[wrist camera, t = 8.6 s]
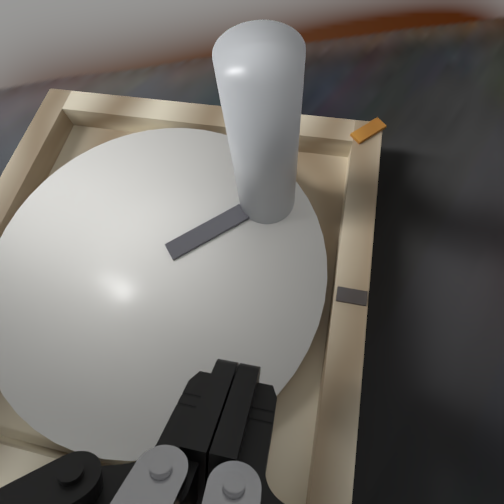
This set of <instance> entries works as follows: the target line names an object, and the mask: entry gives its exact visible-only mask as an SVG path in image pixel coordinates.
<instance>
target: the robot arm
mask: <svg viewBox="0 0 504 504" xmlns="http://www.w3.org/2000/svg"><path fill="white" fill-rule="evenodd" d="M260 370H261V367H259V366H254V365H249V364H244V363H240V364H239V363H238V362H233V361H228V360H222V359H217V361H216V363H215V365H214V368H213V370H212V372H211V373H207V372H202V371H199V372H198V373H197V374H196V375H194V376H193V377H192V378H191V379H190V380H189V381H188V383H187V385H186V387H185V389H184V391H183V393H182V395H181V397H180V399H179V401H178V403H177V405H176V406H175V408H174V410H173V412H172V414H171V416H170V418H169V420H168V422H167V424H166V426H165V428H164V430H163V432H162V434H161V436H160V438H159V440H158V442H157V444H156V445H155V447H152V448H150V449H149V450H147V451H146V452H144V453H143V454H142V455H141V456H140V457H139V459H138V460H137V461H134V462H131V463H126V464H117V465H106V466H101V462H100V460H99V458H98V457H97V456H96V455H95V454H93V453H91V452H88V451H75V452H71V453H68V454H66V455H64V456H61V457H60V458H58V459H56V460H54V461H52V462H50V463H48V464H46V465H44V466H42V467H40V468H38V469H36V470H34V471H32V472H30V473H28V474H26V475H24V476H22V477H20V478H18V479H16V480H14V481H13V482H11V483H9V484H7V485H5V486H3V487H1V488H0V504H284V503H283V502H282V501H280V500H279V499H278V498H277V497H276V496H275V495H274V494H273V492H272V491H271V489H270V488H269V486H268V483H267V480H266V469H267V463H268V456H269V450H270V444H271V438H272V432H273V425H274V417H275V410H276V403H277V396H276V393H275V390H274V387H273V385H268V384H263V383H259V379H260Z"/></svg>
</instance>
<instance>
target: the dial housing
mask: <svg viewBox="0 0 504 504" xmlns="http://www.w3.org/2000/svg"><path fill="white" fill-rule="evenodd" d="M164 128H191V129H200V130H207V131H212V132H216V133H221V134H224V135H227V133H226V127H225V122H224V117H223V112H222V107H221V106H214V105H204V104H194V103H185V102H175V101H165V100H156V99H146V98H136V97H127V96H117V95H107V94H97V93H88V92H78V91H68V90H59V89H50V90H49V92H48V93H47V95H46V97H45V99H44V100H43V102H42V104H41V106H40V108H39V109H38V111H37V113H36V115H35V116H34V118H33V120H32V122H31V124H30V125H29V127H28V129H27V131H26V132H25V134H24V136H23V138H22V140H21V141H20V143H19V145H18V147H17V148H16V150H15V152H14V154H13V155H12V157H11V159H10V161H9V163H8V164H7V166H6V168H5V170H4V171H3V173H2V175H1V177H0V238H1V236H2V234H3V232H4V230H5V228H6V227H7V225H8V224H9V222H10V221H11V219H12V218H13V216H14V215H15V213H16V212H17V210H18V209H19V208H20V207H21V205H22V204H23V203H24V202H25V200H26V199H27V198H28V197H29V196H30V195H31V194H32V193H33V192H34V191H35V190H36V189H37V188H38V187H39V186H40V185H41V184H42V183H43V182H44V181H45V180H46V179H47V178H48V177H49V176H51V175H52V174H53V173H54V172H56V171H57V170H58V169H59V168H61V167H62V166H63V165H65V164H66V163H68V162H69V161H71V160H72V159H74V158H75V157H77V156H79V155H81V154H83V153H84V152H86V151H88V150H90V149H92V148H94V147H96V146H98V145H101V144H103V143H105V142H108V141H110V140H113V139H116V138H119V137H122V136H125V135H129V134H133V133H137V132H142V131H147V130H154V129H164ZM385 128H386V125H385V124H384V123H383V122H382V121H381V120H380V119H379V118H375V119H374V120H372V121H370V122H369V121H359V120H349V119H340V118H330V117H320V116H311V115H301V122H300V135H299V148H298V161H297V175H296V182H297V183H298V184H299V186H300V187H301V189H302V190H303V192H304V193H305V195H306V196H307V198H308V199H309V201H310V203H311V205H312V207H313V210H314V212H315V214H316V216H317V218H318V221H319V224H320V228H321V231H322V234H323V238H324V243H325V249H326V255H327V286H326V295H325V303H324V307H323V310H322V314H321V318H320V322H319V326H318V328H317V330H316V333H315V335H314V338H313V340H312V343H311V345H310V347H309V350H308V351H307V353H306V355H305V357H304V358H303V360H302V362H301V364H300V365H299V367H298V369H297V371H296V372H295V374H294V375H293V376H292V378H291V379H290V380H289V382H288V383H287V384H286V385H285V387H284V388H283V389H282V391H281V392H280V393H279V394H278V395H277V403H276V410H275V417H274V425H273V432H272V438H271V444H270V450H269V456H268V463H267V469H266V480H267V483H268V486H269V488H270V489H271V491H272V492H273V494H274V495H275V496H276V497H277V498H278V499H279V500H280V501H282V502H283V503H284V504H352V494H353V482H354V470H355V458H356V445H357V433H358V421H359V408H360V396H361V384H362V371H363V359H364V347H365V334H366V322H367V310H368V298H369V285H370V273H371V261H372V248H373V236H374V224H375V211H376V199H377V187H378V174H379V162H380V150H381V138H382V130H383V129H385ZM71 452H75V451H73V450H70V449H68V448H66V447H63V446H61V445H59V444H56V443H54V442H53V441H51V440H50V439H48V438H47V437H45V436H43V435H42V434H40V433H39V432H37V431H36V430H34V429H33V428H32V427H31V426H30V425H29V424H28V423H27V422H26V421H24V420H23V419H22V418H21V417H20V416H19V415H18V414H17V413H16V412H15V410H14V409H13V408H12V407H11V405H10V404H9V403H8V401H7V400H6V399H5V397H4V396H3V395H2V393H1V391H0V488H1V487H3V486H5V485H7V484H9V483H11V482H13V481H14V480H16V479H18V478H20V477H22V476H24V475H26V474H28V473H30V472H32V471H34V470H36V469H38V468H40V467H42V466H44V465H46V464H48V463H50V462H52V461H54V460H56V459H58V458H60V457H61V456H64V455H66V454H68V453H71ZM99 460H100V462H101V466H106V465H117V464H126V463H131V462H134V461H122V460H110V459H101V458H99Z"/></svg>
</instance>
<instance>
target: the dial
mask: <svg viewBox="0 0 504 504" xmlns="http://www.w3.org/2000/svg"><path fill="white" fill-rule="evenodd" d="M305 56H306V46H305V42H304V40H303V38H302V36H301V35H300V34H299V33H298V32H297V31H296V30H295V29H294V28H292V27H290V26H288V25H286V24H284V23H281V22H277V21H272V20H253V21H248V22H244V23H241V24H238V25H236V26H234V27H232V28H230V29H229V30H227V31H226V32H225V33H223V34H222V35H221V36H220V37H219V38H218V40H217V41H216V43H215V45H214V48H213V52H212V59H213V65H214V70H215V75H216V80H217V86H218V91H219V96H220V101H221V107H222V112H223V117H224V122H225V127H226V133H227V135H224V134H221V133H216V132H212V131H207V130H200V129H191V128H164V129H154V130H147V131H142V132H137V133H133V134H129V135H125V136H122V137H119V138H116V139H113V140H110V141H108V142H105V143H103V144H101V145H98V146H96V147H94V148H92V149H90V150H88V151H86V152H84V153H83V154H81V155H79V156H77V157H75V158H74V159H72V160H71V161H69V162H68V163H66V164H65V165H63V166H62V167H61V168H59V169H58V170H57V171H56V172H54V173H53V174H52V175H51V176H49V177H48V178H47V179H46V180H45V181H44V182H43V183H42V184H41V185H40V186H39V187H38V188H37V189H36V190H35V191H34V192H33V193H32V194H31V195H30V196H29V197H28V198H27V199H26V200H25V202H24V203H23V204H22V205H21V207H20V208H19V209H18V210H17V212H16V213H15V215H14V216H13V218H12V219H11V221H10V222H9V224H8V225H7V227H6V228H5V230H4V232H3V234H2V236H1V238H0V391H1V393H2V395H3V396H4V397H5V399H6V400H7V401H8V403H9V404H10V405H11V407H12V408H13V409H14V410H15V412H16V413H17V414H18V415H19V416H20V417H21V418H22V419H23V420H24V421H26V422H27V423H28V424H29V425H30V426H31V427H32V428H33V429H34V430H36V431H37V432H39V433H40V434H42V435H43V436H45V437H47V438H48V439H50V440H51V441H53V442H54V443H56V444H59V445H61V446H63V447H66V448H68V449H70V450H73V451H88V452H91V453H93V454H95V455H96V456H97V457H98V458H101V459H110V460H122V461H137V460H138V459H139V457H140V456H141V455H142V454H143V453H144V452H146V451H147V450H149V449H150V448H152V447H155V445H156V444H157V442H158V440H159V438H160V436H161V434H162V432H163V430H164V428H165V426H166V424H167V422H168V420H169V418H170V416H171V414H172V412H173V410H174V408H175V406H176V405H177V403H178V401H179V399H180V397H181V395H182V393H183V391H184V389H185V387H186V385H187V383H188V381H189V380H190V379H191V378H192V377H193V376H194V375H196V374H197V373H198V372H199V371H202V372H207V373H211V372H212V370H213V368H214V365H215V363H216V361H217V359H222V360H228V361H233V362H238V363H239V364H240V363H244V364H249V365H254V366H259V367H261V370H260V379H259V383H263V384H268V385H273V387H274V390H275V393H276V396H277V395H278V394H279V393H280V392H281V391H282V389H283V388H284V387H285V385H286V384H287V383H288V382H289V380H290V379H291V378H292V376H293V375H294V374H295V372H296V371H297V369H298V367H299V365H300V364H301V362H302V360H303V358H304V357H305V355H306V353H307V351H308V350H309V347H310V345H311V343H312V340H313V338H314V335H315V333H316V330H317V328H318V326H319V322H320V318H321V314H322V310H323V307H324V303H325V295H326V286H327V255H326V249H325V243H324V238H323V234H322V231H321V228H320V224H319V221H318V218H317V216H316V214H315V212H314V210H313V207H312V205H311V203H310V201H309V199H308V198H307V196H306V195H305V193H304V192H303V190H302V189H301V187H300V186H299V184H298V183H297V182H296V175H297V161H298V148H299V135H300V122H301V109H302V95H303V82H304V69H305Z"/></svg>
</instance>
